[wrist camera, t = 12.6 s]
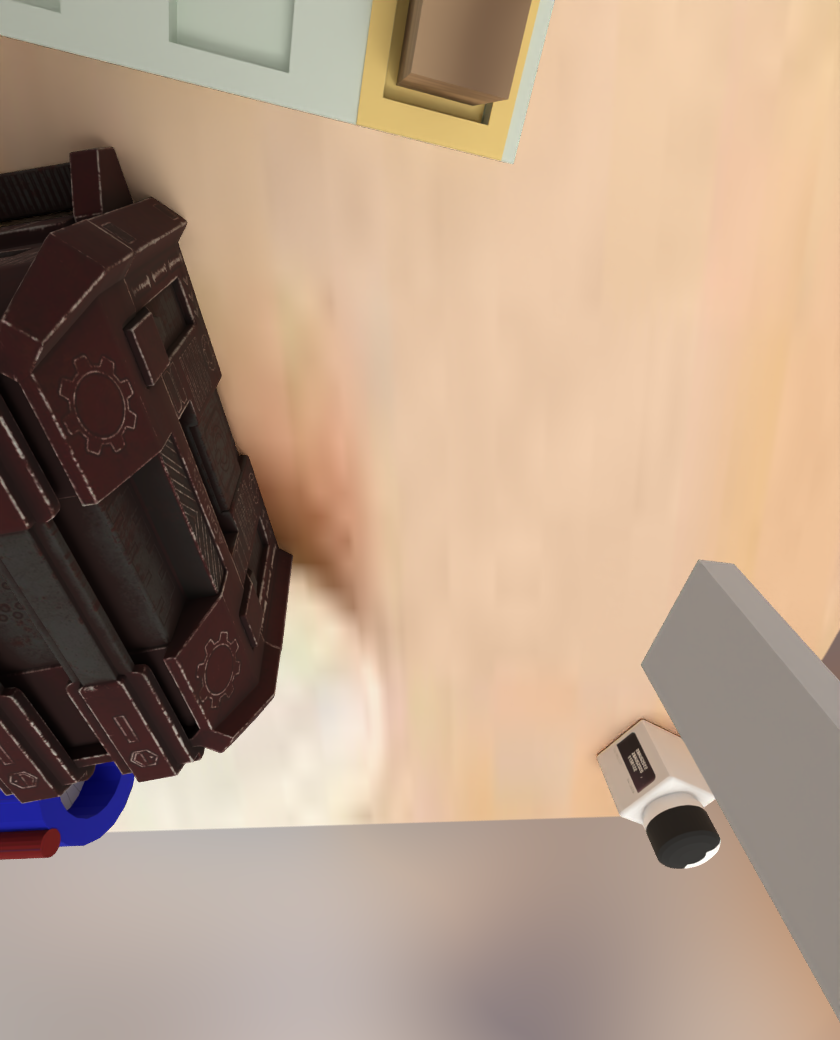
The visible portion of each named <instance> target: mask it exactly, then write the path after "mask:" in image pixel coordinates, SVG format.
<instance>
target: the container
mask: <svg viewBox="0 0 840 1040" xmlns="http://www.w3.org/2000/svg"><path fill="white" fill-rule="evenodd" d="M597 760H598V763H599V765H600V767H601V770H602V772H603V775H604V777H605V780H606V782H607V785H608V787H609V790H610V792H611V795H612V797H613V800H614V802H615V805H616V807H617V810H618V812H619V815H620V816H621V817H623V818H626V819H629V820H631V821H634V822H637V823H639V824H642V825H643V826H644V828H645V831H646V833H647V835H648V838H649V840H650V842H651V844H652V847H653V849H654V851H655V854H656V856H657V858H658V860H659V862H660V863H662V864H663V865H665V866H667V867H670V868H677V869H682V868H691V867H695V866H698V865H700V864H702V863H704V862H706V861H708V860H709V859H710V858H711V857H713V856H714V855H715V854H716V853H717V851H718V850H719V847H720V842H721V841H720V837H719V835H718V833H717V831H716V829H715V827H714V826H713V824H712V822H711V820H710V818H709V816H708V814H707V812H706V811H705V809H704V807H705V806H706V805H708V804H709V803H710V802H712V801H713V800H715V797H714V795H713V793H712V792H711V790H710V788H709V786H708V785H707V783H706V781H705V779H704V777H703V776H702V774H701V772H700V770H699V768H698V767H697V765H696V763H695V761H694V759H693V758H692V756H691V754H690V752H689V750H688V749H687V747H686V745H685V743H684V741H683V740H682V738H681V737H678V736H676V735H674V734H672V733H670V732H668V731H666V730H664V729H662V728H660V727H658V726H656V725H654V724H652V723H650V722H648V721H645V720H640V721H639V722H638V723H637V724H635V725H634V726H633V727H632V728H630V729H629V730H628V731H627V732H626V733H624V734H623V735H622V736H621V737H619V738H618V739H617V740H616V741H615V742H613V743H612V744H611V745H610V746H608V747H607V748H606V749H605V750H603V751H602V752H601V753H600V754H599V755H598V756H597Z"/></svg>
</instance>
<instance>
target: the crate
mask: <svg viewBox="0 0 840 1040" xmlns="http://www.w3.org/2000/svg"><path fill="white" fill-rule="evenodd" d="M69 157H70V163H64V164H58V165H52V166H46V167H40V168H34V169H28V170H22V171H16V172H10V173H4V174H0V222H1V221H7V220H13V219H19V218H25V217H31V216H37V215H43V214H49V213H55V212H61V211H67V210H73V215H70V216H64V217H58V218H52V219H46V220H40V221H34V222H28V223H22V224H16V225H10V226H4V227H0V789H1V790H2V792H3V793H4V794H5V795H6V796H8V795H13V794H14V795H15V797H16V798H17V799H18V800H19V801H20V802H21V803H27V802H33V801H38V800H44V799H49V798H55V797H60V796H61V795H62V794H63V793H64V792H65V791H66V790H67V789H68V788H69V787H70V786H71V785H72V784H74V783H78V782H81V781H86V780H88V779H89V778H90V777H91V776H92V775H93V773H94V771H95V766H96V764H102V763H107V762H113V761H114V763H115V764H116V766H117V767H118V769H119V770H120V772H121V773H122V775H124V774H130V773H133V775H134V776H135V778H136V779H137V781H138V782H144V781H149V780H154V779H160V778H166V777H171V776H176V775H178V774H179V772H180V771H181V769H182V768H183V766H184V765H185V763H191V762H194V761H197V760H201V758H202V756H203V754H204V749H205V748H207V749H210V750H213V751H216V752H218V753H222V752H224V751H225V750H226V749H227V748H228V747H229V746H230V745H231V744H232V743H233V742H234V741H235V740H236V739H237V738H238V737H239V736H240V735H241V734H242V733H243V732H244V730H245V729H246V728H247V727H248V726H249V725H250V724H251V723H252V722H253V721H254V720H255V719H256V718H257V717H258V715H259V714H260V713H261V712H262V711H263V710H264V708H265V707H266V706H267V705H268V704H269V703H270V701H271V700H272V699H273V698H274V695H275V690H276V682H277V675H278V668H279V661H280V654H281V651H282V644H283V636H284V627H285V619H286V610H287V602H288V593H289V585H290V576H291V568H292V559H293V556H292V555H291V554H289V553H287V552H285V551H283V550H281V549H279V547H278V544H277V541H276V538H275V535H274V532H273V529H272V526H271V523H270V520H269V517H268V514H267V511H266V508H265V505H264V502H263V499H262V496H261V493H260V490H259V487H258V484H257V481H256V478H255V474H254V471H253V468H252V465H251V462H250V459H249V457H248V456H247V455H242V456H239V455H238V452H237V449H236V446H235V443H234V440H233V437H232V434H231V431H230V428H229V425H228V422H227V419H226V416H225V413H224V410H223V407H222V404H221V401H220V398H219V396H218V393H217V390H216V386H217V384H218V382H219V380H220V378H221V376H222V374H221V371H220V368H219V365H218V362H217V359H216V356H215V353H214V350H213V347H212V344H211V341H210V338H209V335H208V332H207V329H206V326H205V323H204V320H203V317H202V314H201V311H200V308H199V305H198V302H197V299H196V296H195V293H194V290H193V287H192V284H191V281H190V277H189V274H188V271H187V268H186V265H185V262H184V259H183V256H182V253H181V250H180V247H179V244H178V241H179V239H180V237H181V235H182V233H183V231H184V229H185V227H186V225H187V221H186V220H185V219H183V218H182V217H181V216H179V215H178V214H176V213H175V212H173V211H172V210H170V209H169V208H168V207H166V206H165V205H163V204H162V203H160V202H159V201H157V200H156V199H154V198H152V197H151V198H148V199H145V200H142V201H139V202H136V203H133V201H132V198H131V195H130V193H129V190H128V187H127V184H126V181H125V178H124V176H123V173H122V170H121V167H120V164H119V162H118V159H117V156H116V153H115V150H114V148H113V147H107V148H95V149H89V150H83V151H77V152H71V153H70V156H69Z"/></svg>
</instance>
